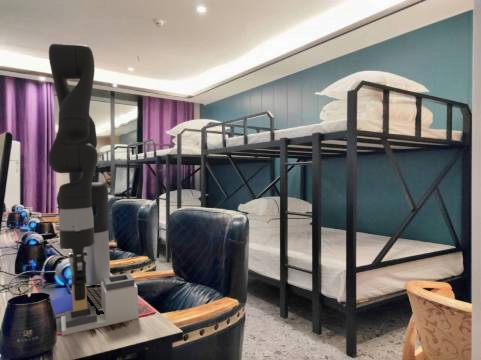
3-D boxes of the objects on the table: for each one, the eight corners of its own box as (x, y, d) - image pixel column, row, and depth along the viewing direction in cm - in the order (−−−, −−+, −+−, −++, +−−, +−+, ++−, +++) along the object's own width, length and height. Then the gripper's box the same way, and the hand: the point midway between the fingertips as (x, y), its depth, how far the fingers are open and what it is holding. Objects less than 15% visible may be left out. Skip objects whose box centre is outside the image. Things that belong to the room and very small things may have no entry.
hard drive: (45, 299, 97) (54, 313, 87) (77, 292, 102) (88, 305, 92) (46, 305, 97) (54, 320, 87) (77, 297, 102) (88, 310, 92)
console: (61, 320, 85) (59, 282, 85) (131, 305, 93) (130, 271, 93) (61, 335, 77) (60, 294, 77) (138, 318, 86) (137, 280, 85)
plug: (72, 306, 84) (71, 274, 84) (86, 304, 85) (85, 272, 85) (73, 311, 81) (71, 277, 81) (87, 308, 82) (86, 275, 82)
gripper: (58, 224, 87) (61, 291, 87) (59, 232, 75) (62, 310, 75) (91, 221, 90) (93, 286, 91) (96, 228, 78) (99, 303, 79)
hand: (79, 297), depth 83 cm, fingers closed on plug, 3 cm apart
